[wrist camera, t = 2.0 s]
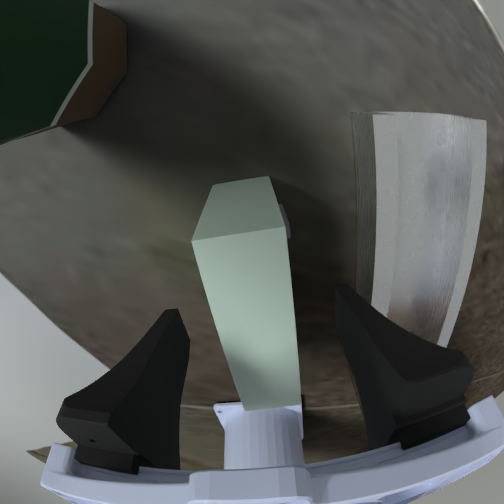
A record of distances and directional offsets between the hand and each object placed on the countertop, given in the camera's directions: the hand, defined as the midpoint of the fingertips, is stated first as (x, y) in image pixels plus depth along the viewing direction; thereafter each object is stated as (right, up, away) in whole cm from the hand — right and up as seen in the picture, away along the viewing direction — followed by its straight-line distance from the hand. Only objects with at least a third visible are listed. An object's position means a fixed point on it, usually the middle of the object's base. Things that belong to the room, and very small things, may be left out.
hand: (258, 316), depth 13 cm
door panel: (0, +2, +5) cm, 5 cm away
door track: (+10, +2, +5) cm, 11 cm away
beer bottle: (-10, +13, -1) cm, 17 cm away
